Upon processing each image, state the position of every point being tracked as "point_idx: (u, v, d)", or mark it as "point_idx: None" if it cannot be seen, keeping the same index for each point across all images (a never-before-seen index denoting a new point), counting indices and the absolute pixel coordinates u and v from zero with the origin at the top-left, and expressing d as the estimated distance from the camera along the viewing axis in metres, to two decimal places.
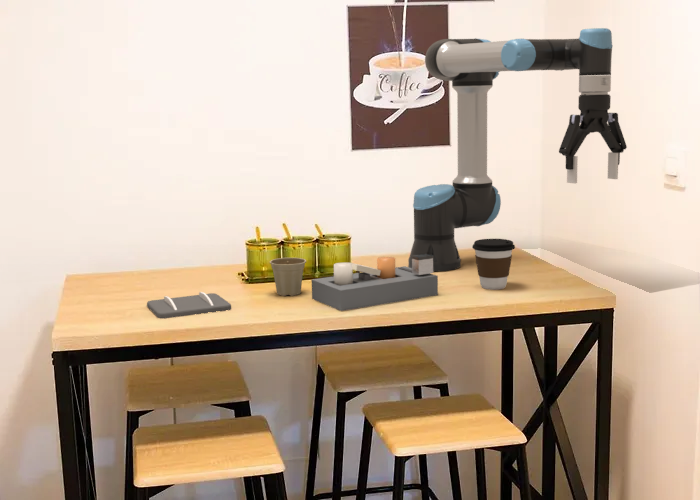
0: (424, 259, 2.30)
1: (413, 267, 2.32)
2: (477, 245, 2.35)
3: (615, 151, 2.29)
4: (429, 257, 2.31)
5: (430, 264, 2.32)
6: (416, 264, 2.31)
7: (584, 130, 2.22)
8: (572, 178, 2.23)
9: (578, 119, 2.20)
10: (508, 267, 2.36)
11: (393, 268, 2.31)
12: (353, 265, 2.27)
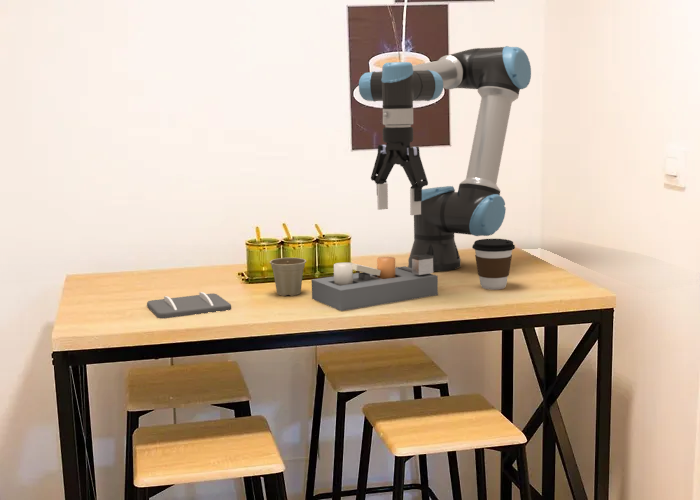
0: (424, 259, 2.30)
1: (413, 267, 2.32)
2: (477, 245, 2.35)
3: None
4: (429, 257, 2.31)
5: (430, 264, 2.32)
6: (416, 264, 2.31)
7: None
8: None
9: (379, 149, 2.31)
10: (508, 267, 2.36)
11: (393, 268, 2.31)
12: (353, 265, 2.27)
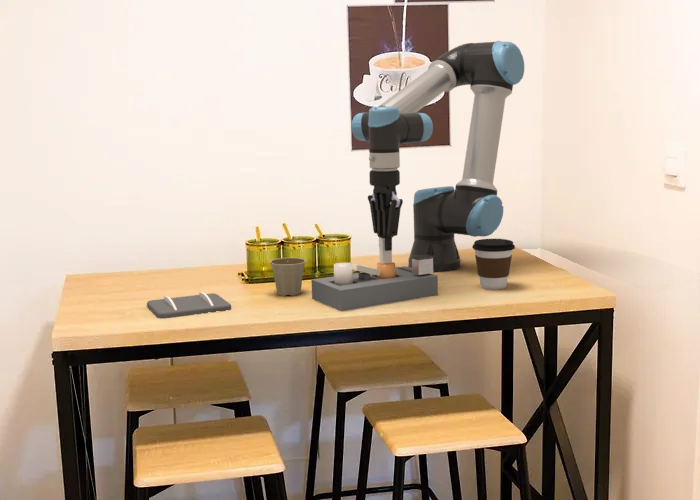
0: (424, 259, 2.30)
1: (413, 267, 2.32)
2: (477, 245, 2.35)
3: None
4: (429, 257, 2.31)
5: (430, 264, 2.32)
6: (416, 264, 2.31)
7: None
8: None
9: (369, 199, 2.33)
10: (508, 267, 2.36)
11: (393, 273, 2.31)
12: (353, 265, 2.27)
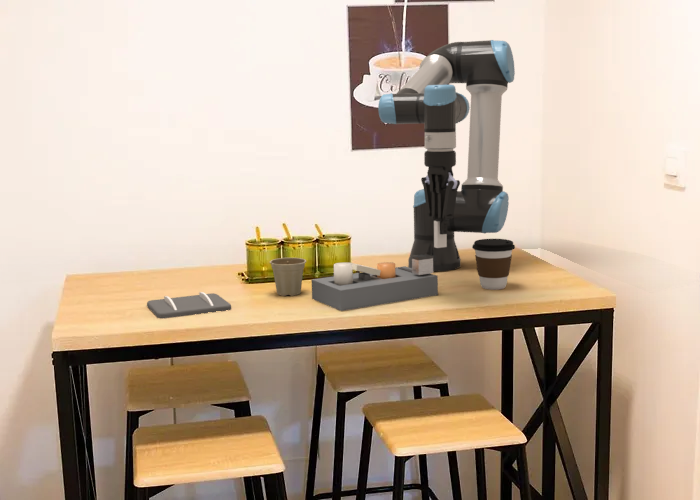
0: (424, 259, 2.30)
1: (413, 267, 2.32)
2: (477, 245, 2.35)
3: None
4: (429, 257, 2.31)
5: (430, 264, 2.32)
6: (416, 264, 2.31)
7: None
8: None
9: (423, 181, 2.25)
10: (508, 267, 2.36)
11: (393, 274, 2.31)
12: (353, 265, 2.27)
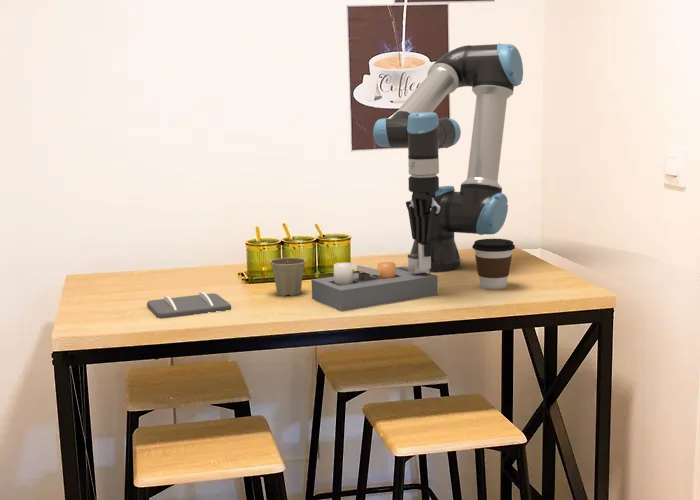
0: None
1: (409, 266, 2.33)
2: (477, 245, 2.35)
3: None
4: None
5: None
6: (412, 263, 2.32)
7: None
8: None
9: (407, 205, 2.33)
10: (508, 267, 2.36)
11: (393, 274, 2.31)
12: (353, 265, 2.27)
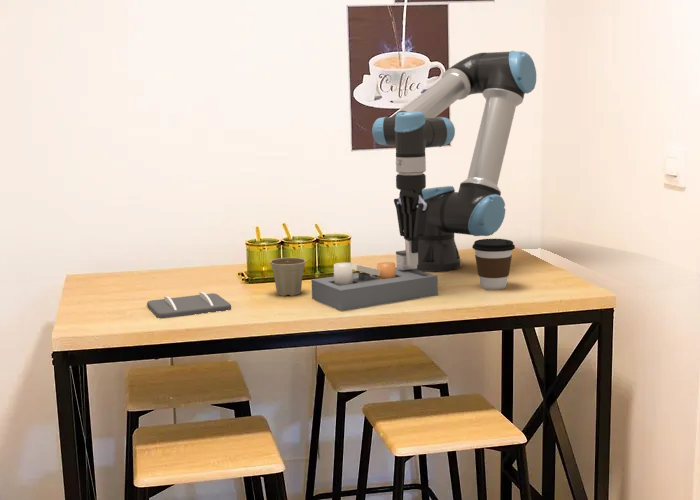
0: None
1: (397, 263, 2.38)
2: (477, 245, 2.35)
3: None
4: None
5: None
6: (400, 260, 2.37)
7: None
8: None
9: (395, 202, 2.38)
10: (508, 267, 2.36)
11: (393, 274, 2.31)
12: (353, 265, 2.27)
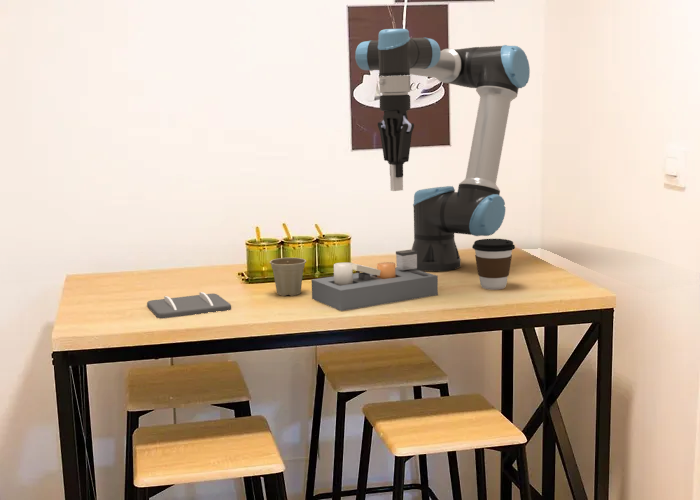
0: (408, 255, 2.37)
1: (397, 262, 2.38)
2: (477, 245, 2.35)
3: None
4: (413, 253, 2.37)
5: (414, 260, 2.38)
6: (400, 260, 2.37)
7: None
8: None
9: (379, 126, 2.29)
10: (508, 267, 2.36)
11: (393, 274, 2.31)
12: (353, 265, 2.27)
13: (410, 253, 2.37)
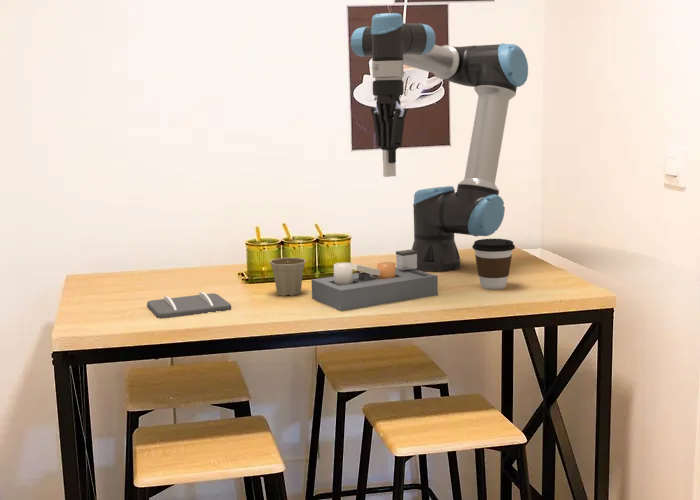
0: (408, 255, 2.37)
1: (397, 262, 2.38)
2: (477, 245, 2.35)
3: None
4: (413, 253, 2.37)
5: (414, 260, 2.38)
6: (400, 260, 2.37)
7: None
8: None
9: (372, 112, 2.28)
10: (508, 267, 2.36)
11: (393, 274, 2.31)
12: (353, 265, 2.27)
13: (410, 253, 2.37)
